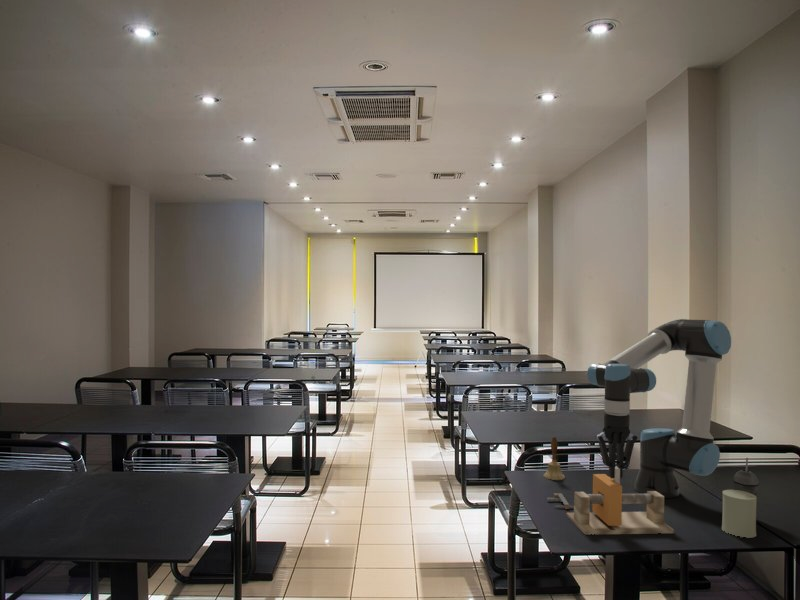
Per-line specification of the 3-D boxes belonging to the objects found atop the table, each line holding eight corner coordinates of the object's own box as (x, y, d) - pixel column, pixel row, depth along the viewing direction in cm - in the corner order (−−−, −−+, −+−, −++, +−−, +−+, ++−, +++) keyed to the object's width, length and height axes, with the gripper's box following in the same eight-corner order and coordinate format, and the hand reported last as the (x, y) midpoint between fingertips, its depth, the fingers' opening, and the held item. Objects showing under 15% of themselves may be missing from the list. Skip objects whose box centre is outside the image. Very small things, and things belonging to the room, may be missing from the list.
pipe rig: (648, 514, 188) (649, 485, 188) (674, 533, 173) (674, 501, 173) (566, 515, 186) (566, 486, 186) (584, 534, 171) (585, 502, 171)
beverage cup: (754, 515, 189) (756, 455, 189) (760, 523, 182) (762, 460, 182) (730, 512, 191) (731, 452, 191) (735, 519, 184) (736, 458, 184)
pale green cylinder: (756, 540, 169) (757, 500, 169) (720, 533, 173) (721, 494, 173) (756, 530, 176) (757, 491, 176) (722, 523, 181) (722, 486, 181)
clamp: (544, 492, 203) (573, 493, 202) (544, 498, 203) (573, 499, 202) (554, 507, 188) (584, 508, 187) (553, 514, 188) (584, 515, 187)
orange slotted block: (604, 510, 185) (604, 474, 185) (621, 525, 173) (622, 486, 173) (592, 510, 185) (593, 474, 185) (608, 525, 173) (609, 486, 173)
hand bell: (544, 479, 223) (545, 439, 223) (542, 473, 231) (543, 434, 231) (566, 481, 222) (566, 440, 222) (563, 474, 230) (564, 435, 230)
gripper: (630, 410, 183) (629, 484, 183) (591, 410, 182) (590, 484, 182) (642, 415, 176) (641, 491, 176) (601, 415, 175) (600, 492, 175)
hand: (615, 487), depth 179 cm, fingers closed
